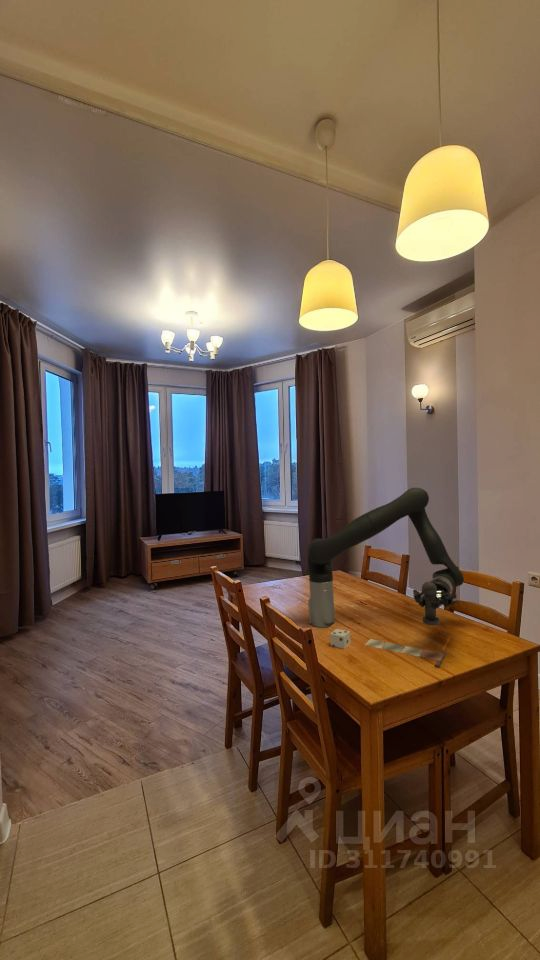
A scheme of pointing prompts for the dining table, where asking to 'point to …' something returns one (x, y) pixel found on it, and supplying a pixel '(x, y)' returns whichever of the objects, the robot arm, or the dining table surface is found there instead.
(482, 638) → the dining table surface
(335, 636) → the die
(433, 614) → the pawn
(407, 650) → the board
